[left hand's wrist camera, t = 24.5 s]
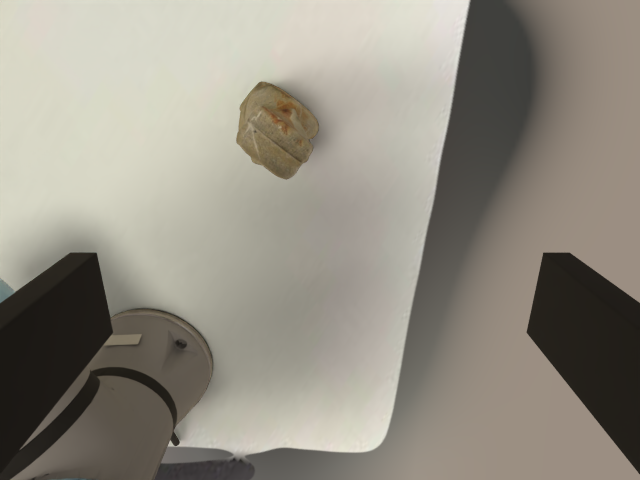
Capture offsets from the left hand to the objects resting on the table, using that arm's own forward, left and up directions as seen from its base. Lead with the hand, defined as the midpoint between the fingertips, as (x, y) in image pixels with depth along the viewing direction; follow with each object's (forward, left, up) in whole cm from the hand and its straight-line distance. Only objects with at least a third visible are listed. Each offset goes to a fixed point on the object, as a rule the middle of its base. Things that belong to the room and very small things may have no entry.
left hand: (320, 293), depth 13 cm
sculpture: (+2, +4, -33) cm, 34 cm away
